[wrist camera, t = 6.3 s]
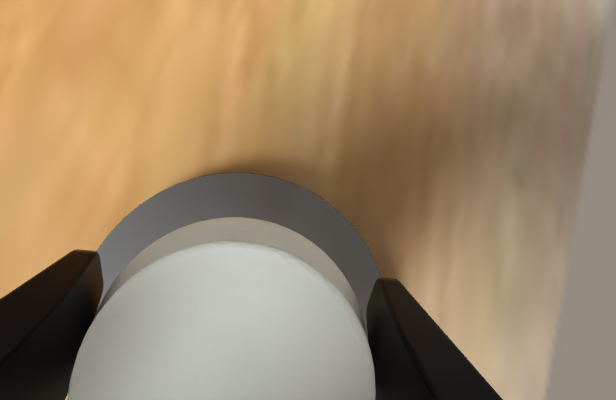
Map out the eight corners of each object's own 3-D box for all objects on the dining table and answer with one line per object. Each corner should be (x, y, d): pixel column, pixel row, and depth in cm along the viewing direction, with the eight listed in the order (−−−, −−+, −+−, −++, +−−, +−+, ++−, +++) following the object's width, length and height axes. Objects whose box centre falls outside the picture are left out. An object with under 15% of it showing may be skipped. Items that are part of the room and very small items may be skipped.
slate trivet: (372, 490, 16) (380, 504, 15) (53, 479, 15) (39, 494, 14) (389, 195, 18) (398, 190, 17) (108, 162, 17) (100, 155, 16)
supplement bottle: (122, 329, 14) (-108, 428, 5) (233, 209, 16) (211, 110, 6) (245, 438, 14) (240, 739, 5) (347, 309, 16) (497, 360, 6)
